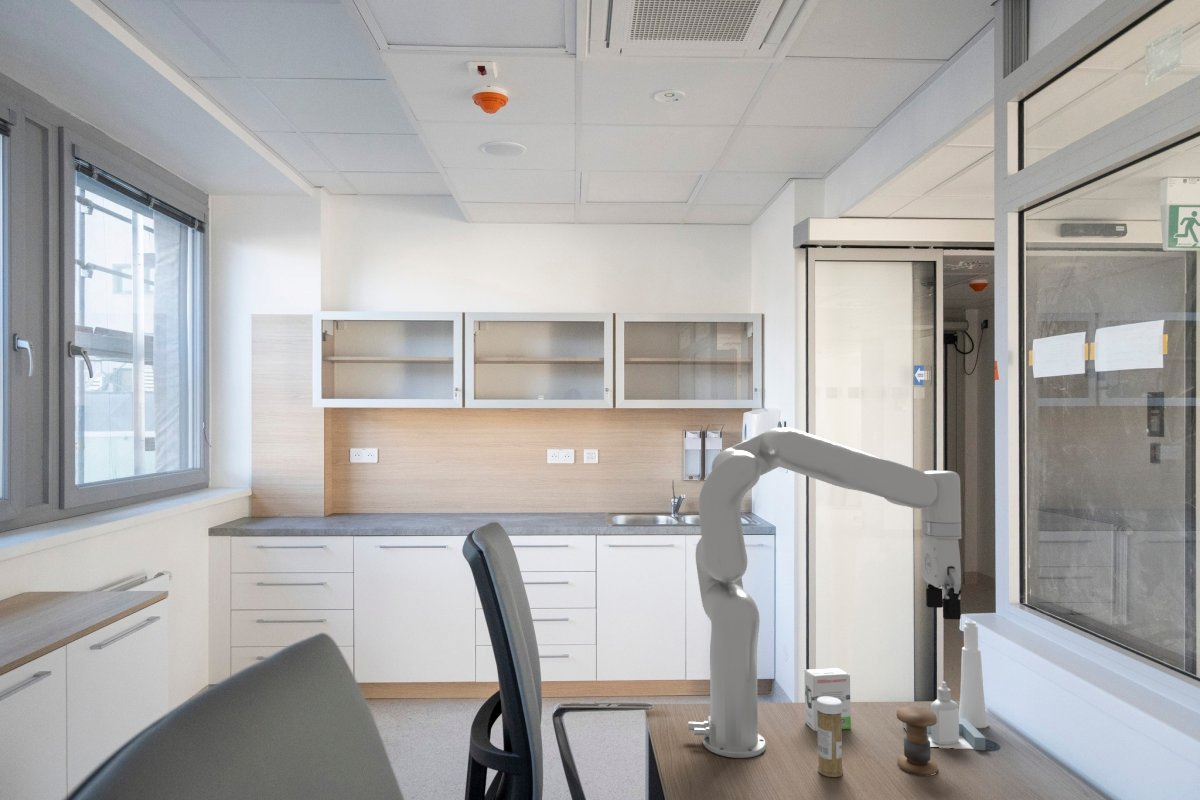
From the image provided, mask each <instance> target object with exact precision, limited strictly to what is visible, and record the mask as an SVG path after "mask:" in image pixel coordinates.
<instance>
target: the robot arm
mask: <svg viewBox="0 0 1200 800" xmlns="http://www.w3.org/2000/svg"><path fill="white" fill-rule="evenodd" d="M778 468H782V469H784V470H789V471H792V472H793V473H794V472H795V473H798V474H801V475H803V476H806V477H809V478H812V479H816V480H817V481H821V482H823V483H826V484H829V485H832V486H836V487H838V488H842V489H843V488H844V489H846V490H852V491H858V492H863V493H868V494H870V495H874V496H877V497H881V498H884V500H886V501H887V502H889V503H891V504H893V505H898V506H903V507H908V508H912V509H916V510H917V509H918V510H919V509H920V513H921V515H920V516H921V520H920V521H921V536H922V537H923V538H922V549H921V578H922V579H923V581H925V587H926V588H925V596H926V598H925V600H926V602H925V603H926V605H925V606H926V607H927V608H933V609H934V608H938V609H940V608H942V618H943V619H945V620H957V621H958V620H960V619H961V611H962V610H961V599H962V597H961V592H962V591H961V587H962V570H961V569H962V568H961V567H962V566H961V555H960V554H961V553H960V546H959V540H961V539H962V506H961V505H962V503H961V502H962V501H961V495H962V494H961V478H960V475H959V474H958V473H957V472H956V471H952V470H926V471H922V470H919V469H916V468H913V467H911V466H907V465H905V464H901V463H898V462H895V461H892V460H889V459H886V458H883V457H881V456H880V457H878V456H875V455H873V454H870V453H867V452H864V451H862V450H860V449H859V450H858V449H855V448H852V447H849V446H846V445H844V444H840V443H836V442H835V441H831V440H829V439H825V438H822V437H820V436H816V435H815V434H810V433H808V432H805V431H802V430H798V429H795V428H791V427H774V428H771V429H769V430H767V431H764V432H762V433H760V434H757V435H755V436H753V437H750V438H748V439H746V440H744V441H742V442H740V443H737V444H735V445H732V446H731V447H728V448H725V449H724V450H722V451H721V452H719V453H718V454H717V455H716V456H715V457H714V458H713V461H712V464H711V469H710V470H711V472H710V473H709V474H708V476H707V477H706V479H705V481H704V482H703V485H702V487H701V490H700V493H699V496H698V497H699V498H698V515H699V516H698V517H699V526H700V535H701V537H700V538H699V540H698V541H697V545H696V547H695V565H696V572H697V573H696V574H697V579H698V586H699V592H700V599H701V604H702V607H703V609H704V612H705V615H706V616H707V617H708V618H709V620H710V623H711V625H710V626H711V632H710V644H709V645H710V646H709V648H710V649H709V668H710V669H709V676H710V677H709V679H710V683H709V684H710V686H709V688H710V689H709V690H710V691H709V692H710V694H709V695H710V697H709V698H710V700H709V701H710V708H709V709H710V710H709V711H710V715H708V716H707V717H708V720H703V721H700V722H699V721H695V720H694V721H693V720H689V721H688V723H687V725H688V726H687V727H688V728H687V729H688V732H694V736H702V742H703V743H702V744H703V746H704V747H705V748H706V749H707V750H708V751H709V752H711V753H714V754H716V755H719V756H721V757H727V758H735V759H745V758H746V759H747V758H752V757H756V756H759V755H761V754H763V752H764V751H765V750H766V748H767V744H766V739H765V737H763V735H761V734H760V733H759V732H758V731H759V728H758V726H759V724H758V723H759V722H758V717H759V716H758V715H759V714H758V711H759V710H758V642H759V641H758V640H759V632H760V612H759V608H758V606H757V603H756V602H755V600H754V599H753V598H752V596H751V595H750V594H749V593H748V592H747V591H746V590H745V589H744V584H743V576H744V575H745V573H746V571H747V567H748V553H747V550H746V546H745V545H746V544H745V539H744V532H743V525H742V515H741V511H742V510H741V508H742V506H741V505H742V503H743V499H744V497H745V495H747V493H748V492H750V490H752V488H754V487H755V486H756V485H757V483H758V482H759V480H760V477H761V476H763V475H766V474H767V473H769V472H772V471H773V470H775V469H778ZM948 589H949V590H948ZM943 597H944V598H943Z"/></svg>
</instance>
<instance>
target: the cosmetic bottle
mask: <svg viewBox="0 0 1200 800" xmlns="http://www.w3.org/2000/svg"><path fill="white" fill-rule="evenodd" d="M976 625H977V622H976V621H973V620H965V621H964V625H963V647H961V660H960V661H961V663H960V665H961V669H960V692H959V693H960V694H959V697H960V698H959V705H958V711H959V718H966V719H967V720H968V721H969V722H970V723H971V724H972V725H973V726H974V727H975V728H976V729H985V728H988V727H989V720H988V717H987V711H986V703H985V693H984V692H985V691H984V681H983V679H984V678H983V665H982V653H981V649H980V648H979V633H978V632H979V631H978V630H979V628H978V625H977V626H976Z"/></svg>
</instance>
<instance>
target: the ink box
mask: <svg viewBox="0 0 1200 800" xmlns="http://www.w3.org/2000/svg"><path fill="white" fill-rule="evenodd" d="M803 674H804V719H805V720H804V722H805V724H806V725H807V726H809V727H810V728H811V730H813V732H818V712H817V699H818V698H819V697H823V696H829V697H834V698H837V699H839V700H841V702H842V712H841V730H848V729H849V730H850V729H851V728H852V727H851V726H852V723H851V719H852V718H851V715H852V713H851V674H850V673H848V672H846V671H845V670H844V669H842V668H840V667H832V668H831V667H829V668H828V667H827V668H815V669H814V668H812V669H810V668H809V669H804V673H803Z"/></svg>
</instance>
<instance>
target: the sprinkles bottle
mask: <svg viewBox="0 0 1200 800" xmlns="http://www.w3.org/2000/svg"><path fill="white" fill-rule="evenodd" d="M817 712H818V731H817V753H818V755H817V756H818V767H817V771H818V773H819V774H821V775H822V776H825V777H828V778H839V777H842V776H843V773H844V771H843V741H842V740H843V737H842V736H843V735H842V734H843V733H842V729H841V712H842V702H841V700H839V699H837V698H834V697H829V696H823V697H819V698H818V699H817Z"/></svg>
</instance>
